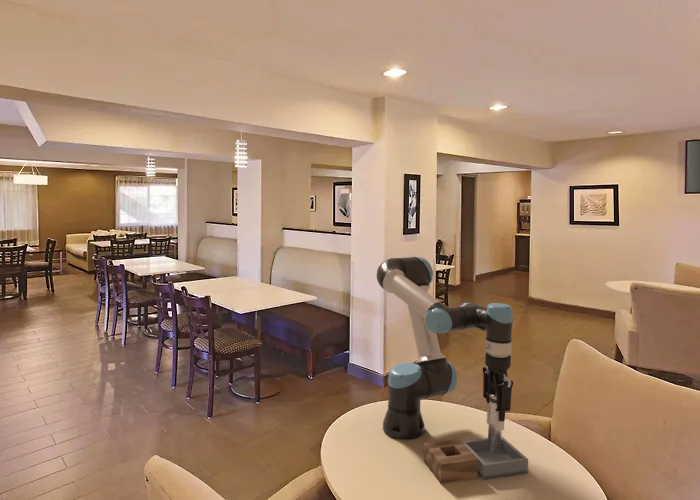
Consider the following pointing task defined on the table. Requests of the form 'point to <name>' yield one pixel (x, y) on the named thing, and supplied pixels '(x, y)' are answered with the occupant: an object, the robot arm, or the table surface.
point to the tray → (497, 459)
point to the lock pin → (493, 427)
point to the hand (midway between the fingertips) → (495, 426)
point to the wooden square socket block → (450, 461)
